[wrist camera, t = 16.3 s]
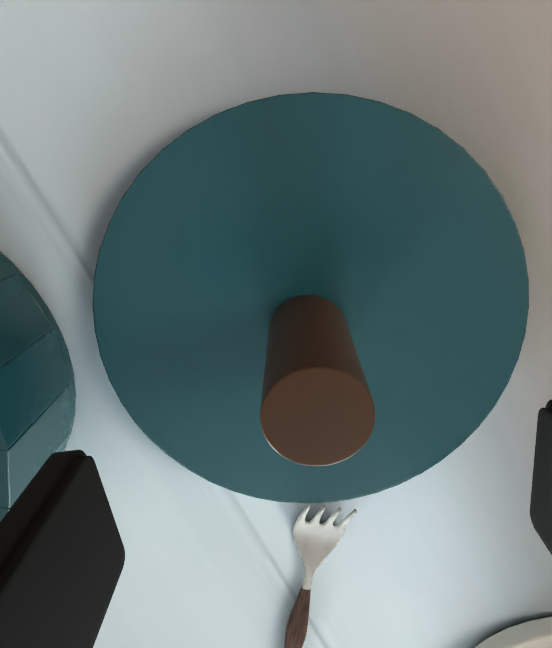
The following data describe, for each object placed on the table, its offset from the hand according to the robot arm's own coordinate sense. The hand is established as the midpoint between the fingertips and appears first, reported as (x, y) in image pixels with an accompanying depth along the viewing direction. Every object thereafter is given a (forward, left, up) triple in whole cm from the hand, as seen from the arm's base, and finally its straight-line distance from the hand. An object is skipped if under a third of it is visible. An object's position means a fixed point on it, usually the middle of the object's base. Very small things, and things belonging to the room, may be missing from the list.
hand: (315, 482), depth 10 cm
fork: (+2, +16, -11) cm, 20 cm away
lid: (0, 0, -10) cm, 10 cm away
